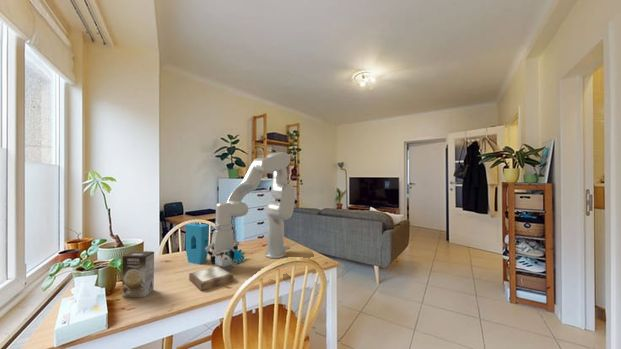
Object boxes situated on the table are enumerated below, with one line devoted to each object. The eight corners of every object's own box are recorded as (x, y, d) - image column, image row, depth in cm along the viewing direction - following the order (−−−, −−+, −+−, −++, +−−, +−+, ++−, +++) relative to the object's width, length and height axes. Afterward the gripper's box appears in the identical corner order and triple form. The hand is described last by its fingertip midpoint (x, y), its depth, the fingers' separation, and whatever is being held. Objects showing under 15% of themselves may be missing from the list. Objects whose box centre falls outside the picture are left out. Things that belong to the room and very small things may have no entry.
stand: (219, 271, 124) (219, 265, 124) (232, 281, 114) (233, 273, 114) (189, 280, 114) (189, 272, 114) (201, 291, 104) (201, 283, 104)
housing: (224, 265, 132) (224, 253, 132) (231, 270, 126) (231, 257, 126) (215, 268, 129) (215, 255, 128) (222, 273, 123) (222, 259, 123)
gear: (232, 263, 131) (225, 246, 136) (226, 269, 133) (220, 253, 138) (249, 260, 140) (242, 244, 145) (243, 266, 142) (237, 250, 147)
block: (184, 261, 137) (185, 224, 136) (192, 258, 141) (192, 222, 141) (202, 264, 132) (202, 226, 132) (209, 261, 137) (209, 224, 137)
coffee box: (121, 297, 98) (121, 256, 98) (132, 289, 105) (132, 250, 105) (145, 297, 99) (145, 256, 98) (154, 289, 105) (154, 250, 105)
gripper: (235, 224, 136) (234, 256, 136) (203, 228, 124) (202, 263, 124) (242, 226, 130) (241, 259, 130) (209, 231, 118) (208, 267, 118)
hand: (222, 261), depth 127 cm, fingers open, 9 cm apart
